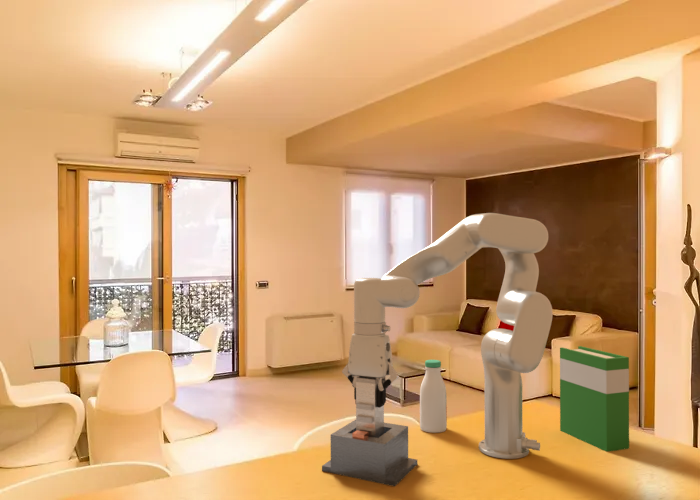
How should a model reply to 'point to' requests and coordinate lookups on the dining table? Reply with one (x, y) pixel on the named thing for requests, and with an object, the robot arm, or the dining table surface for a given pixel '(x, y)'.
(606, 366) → the hardback book
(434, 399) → the milk bottle
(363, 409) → the column
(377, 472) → the housing
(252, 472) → the dining table surface
